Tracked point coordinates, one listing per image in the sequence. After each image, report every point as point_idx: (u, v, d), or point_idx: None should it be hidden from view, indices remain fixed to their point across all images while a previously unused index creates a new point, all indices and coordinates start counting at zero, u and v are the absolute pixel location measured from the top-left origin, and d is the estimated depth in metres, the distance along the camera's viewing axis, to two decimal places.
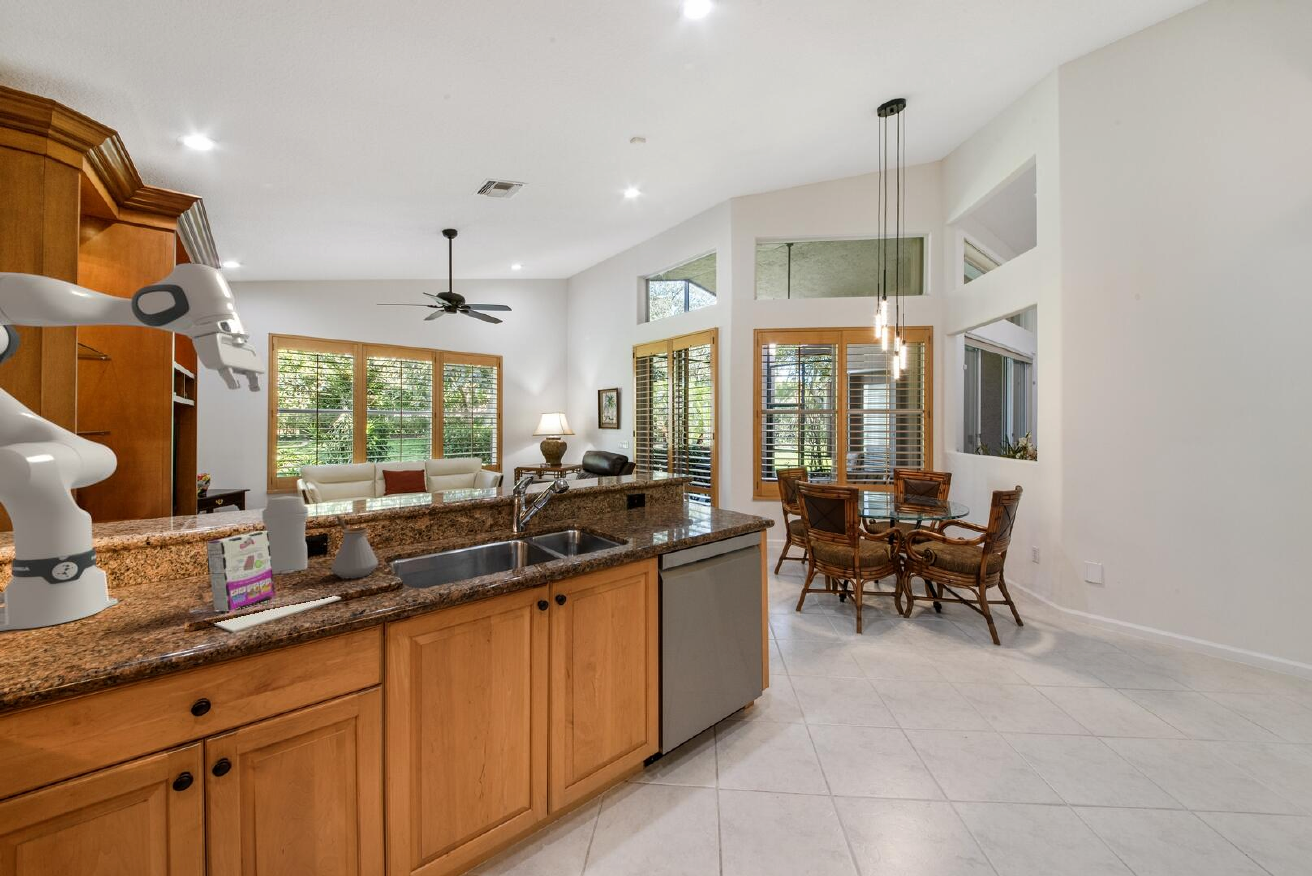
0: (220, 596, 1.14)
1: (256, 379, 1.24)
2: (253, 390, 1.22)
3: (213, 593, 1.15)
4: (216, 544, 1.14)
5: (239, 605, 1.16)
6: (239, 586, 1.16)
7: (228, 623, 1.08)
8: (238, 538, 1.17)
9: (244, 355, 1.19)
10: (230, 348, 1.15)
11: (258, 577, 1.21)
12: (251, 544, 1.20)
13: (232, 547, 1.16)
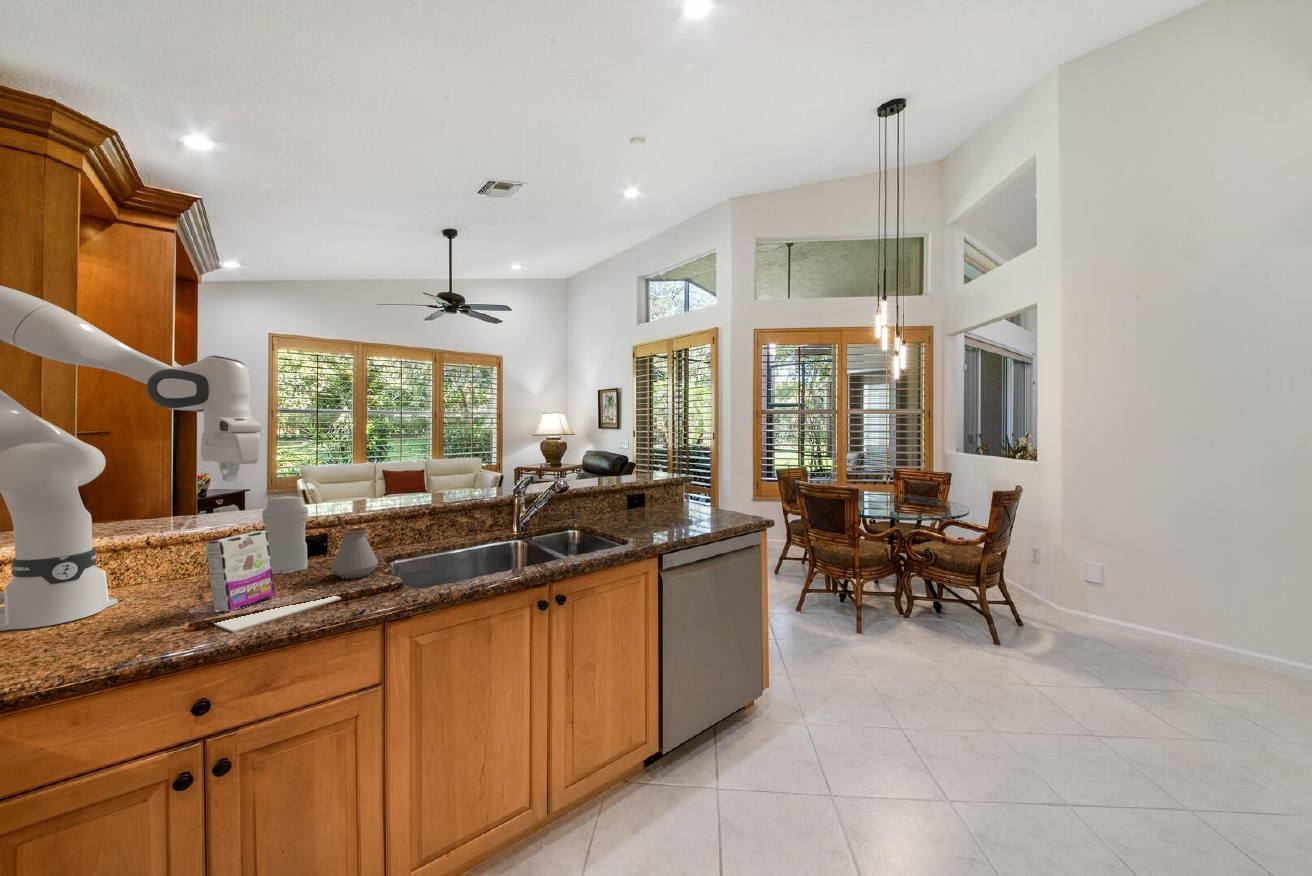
0: (219, 596, 1.14)
1: None
2: None
3: (212, 593, 1.15)
4: (215, 544, 1.14)
5: (239, 605, 1.16)
6: (239, 586, 1.16)
7: (228, 623, 1.08)
8: (237, 538, 1.17)
9: None
10: None
11: (257, 577, 1.21)
12: (250, 544, 1.20)
13: (231, 547, 1.16)
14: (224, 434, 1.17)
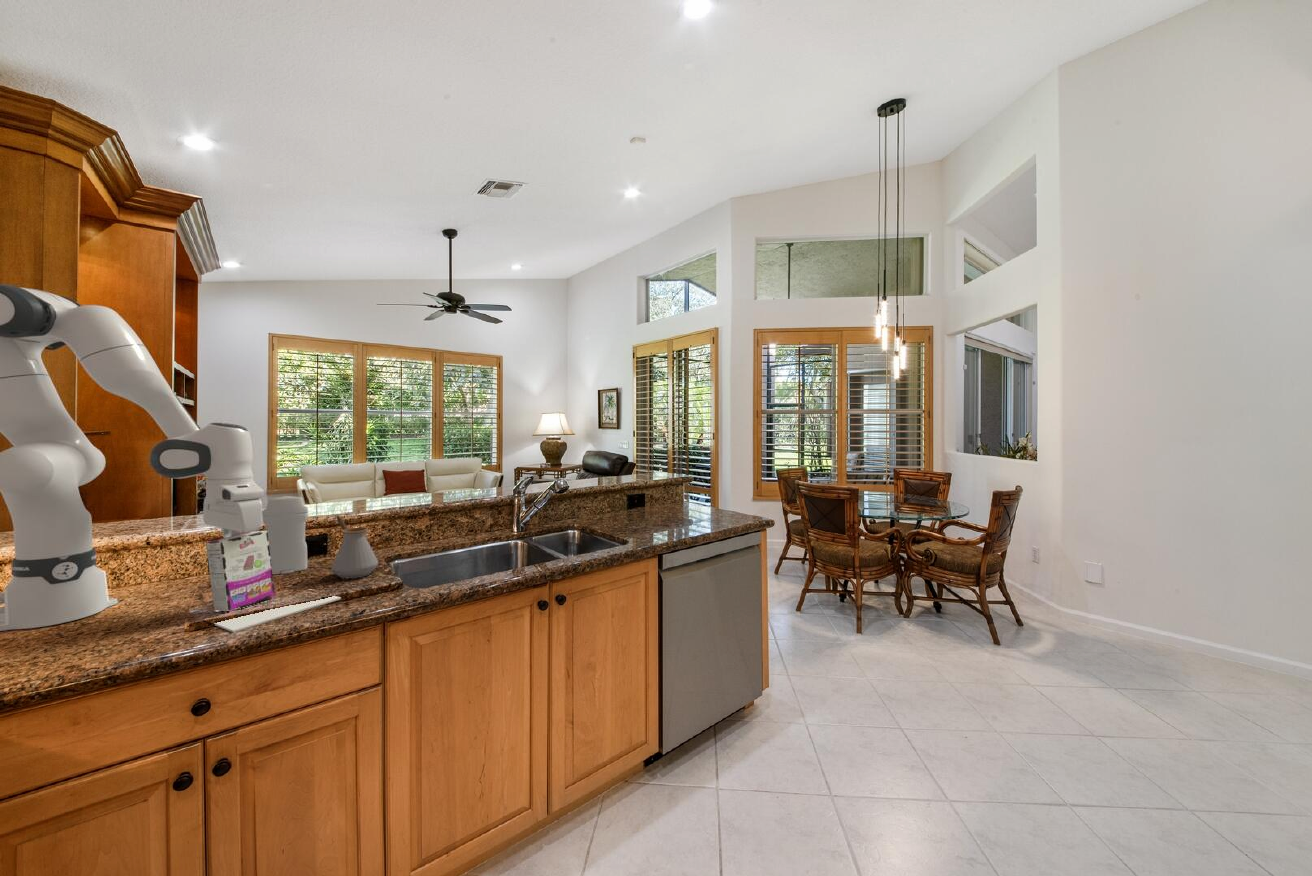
0: (220, 596, 1.14)
1: None
2: None
3: (213, 593, 1.15)
4: (216, 544, 1.14)
5: (239, 605, 1.16)
6: (239, 586, 1.16)
7: (228, 623, 1.08)
8: (238, 538, 1.17)
9: None
10: None
11: (257, 577, 1.21)
12: (251, 544, 1.20)
13: (232, 547, 1.16)
14: (227, 502, 1.18)
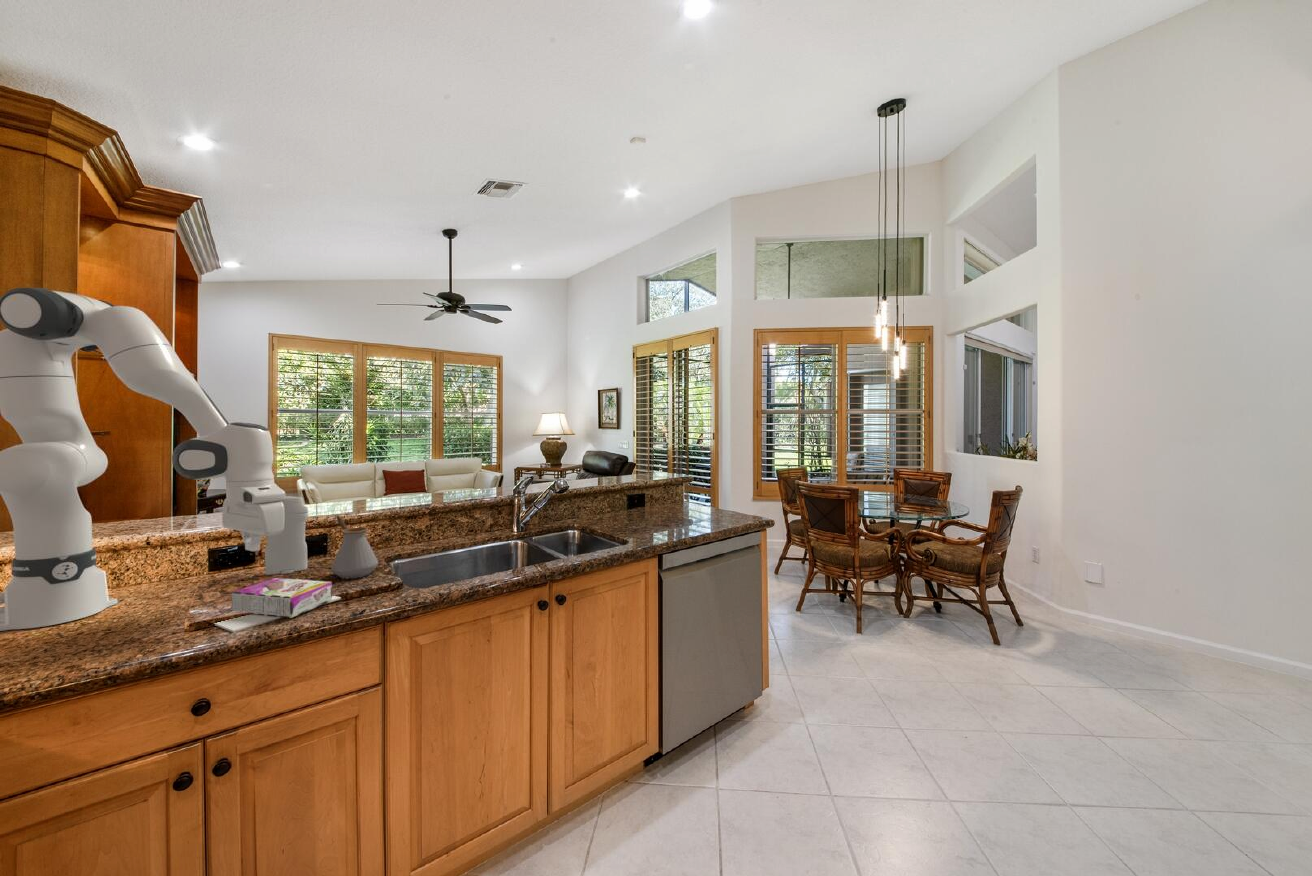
0: (244, 604, 1.13)
1: None
2: None
3: (246, 595, 1.13)
4: (288, 611, 1.11)
5: None
6: None
7: (228, 623, 1.08)
8: (305, 611, 1.14)
9: None
10: None
11: None
12: None
13: None
14: (248, 505, 1.13)
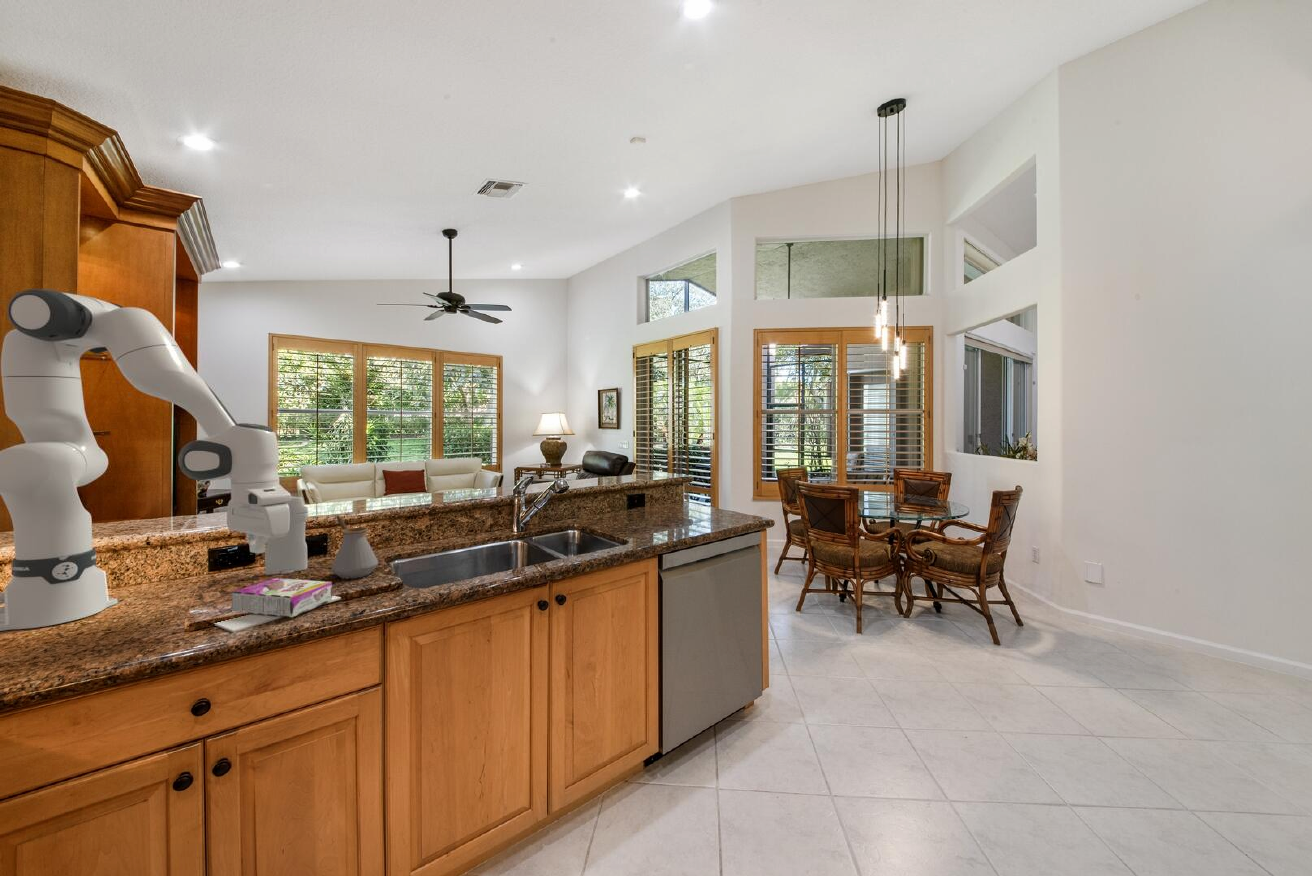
0: (244, 603, 1.13)
1: None
2: None
3: (246, 595, 1.13)
4: (288, 610, 1.11)
5: None
6: None
7: (228, 623, 1.08)
8: (305, 611, 1.14)
9: None
10: None
11: None
12: None
13: None
14: (253, 507, 1.12)
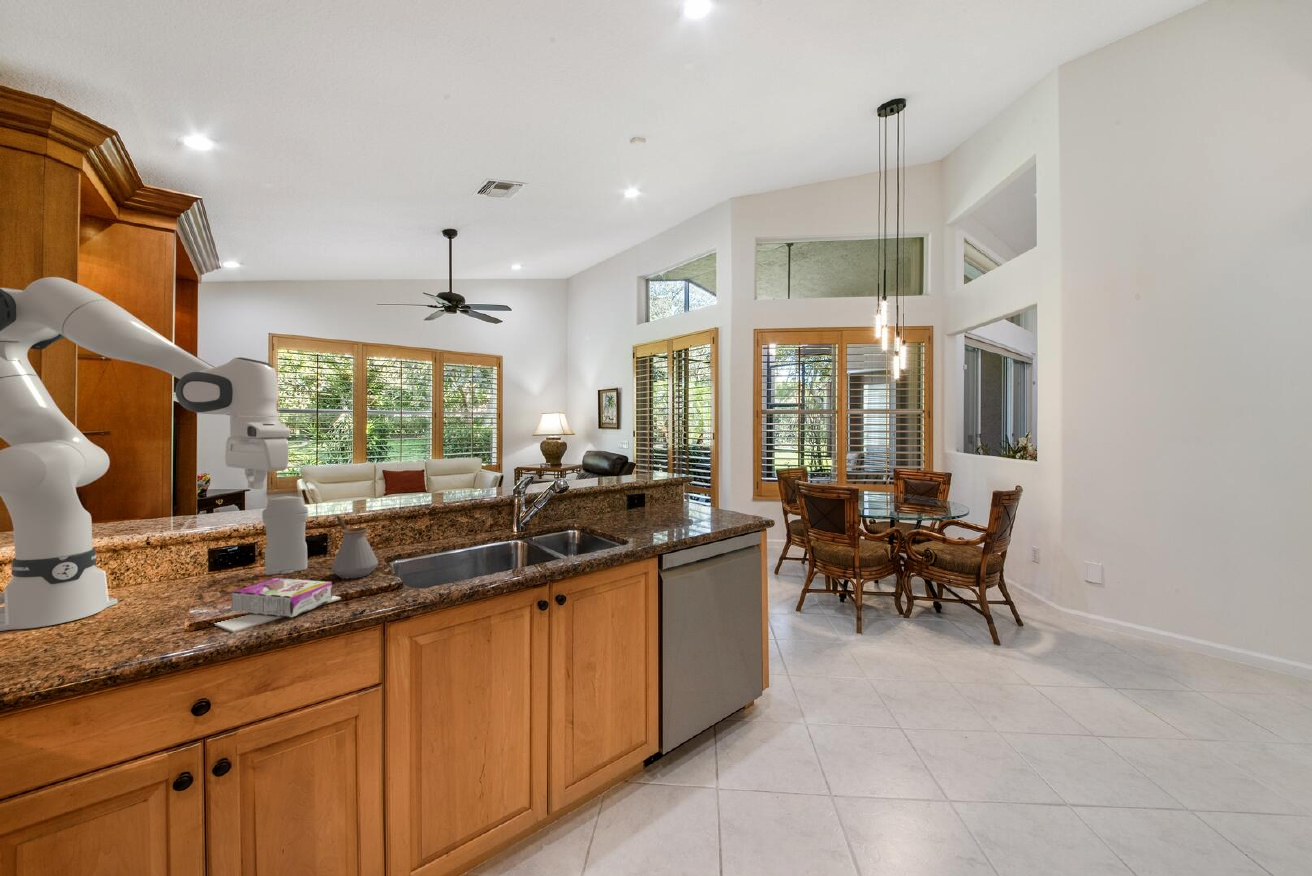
0: (244, 603, 1.13)
1: None
2: None
3: (246, 595, 1.13)
4: (288, 610, 1.11)
5: None
6: None
7: (228, 623, 1.08)
8: (305, 611, 1.14)
9: None
10: None
11: None
12: None
13: None
14: (252, 440, 1.12)
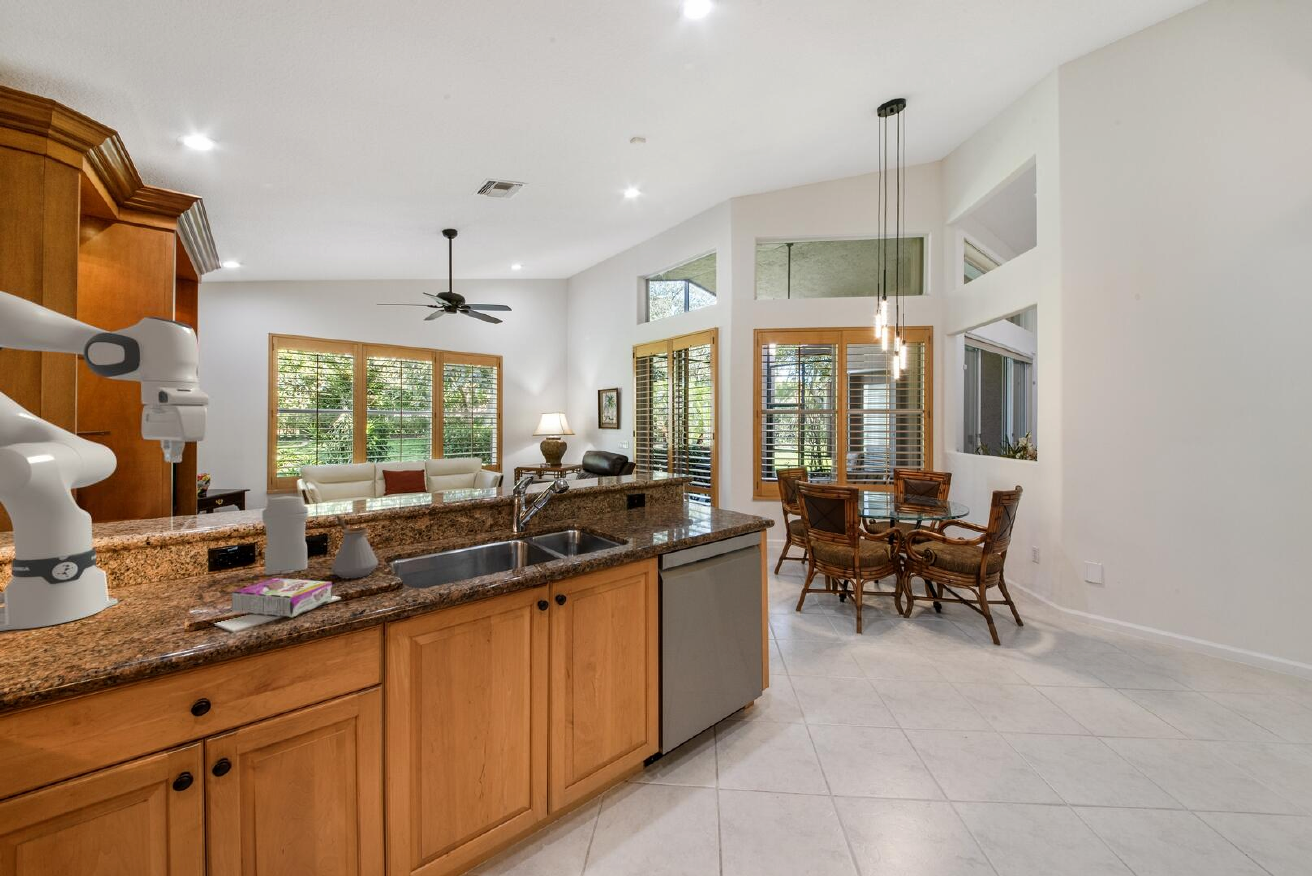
0: (244, 603, 1.13)
1: None
2: None
3: (246, 595, 1.13)
4: (288, 610, 1.11)
5: None
6: None
7: (228, 623, 1.08)
8: (305, 611, 1.14)
9: None
10: None
11: None
12: None
13: None
14: (164, 407, 1.01)
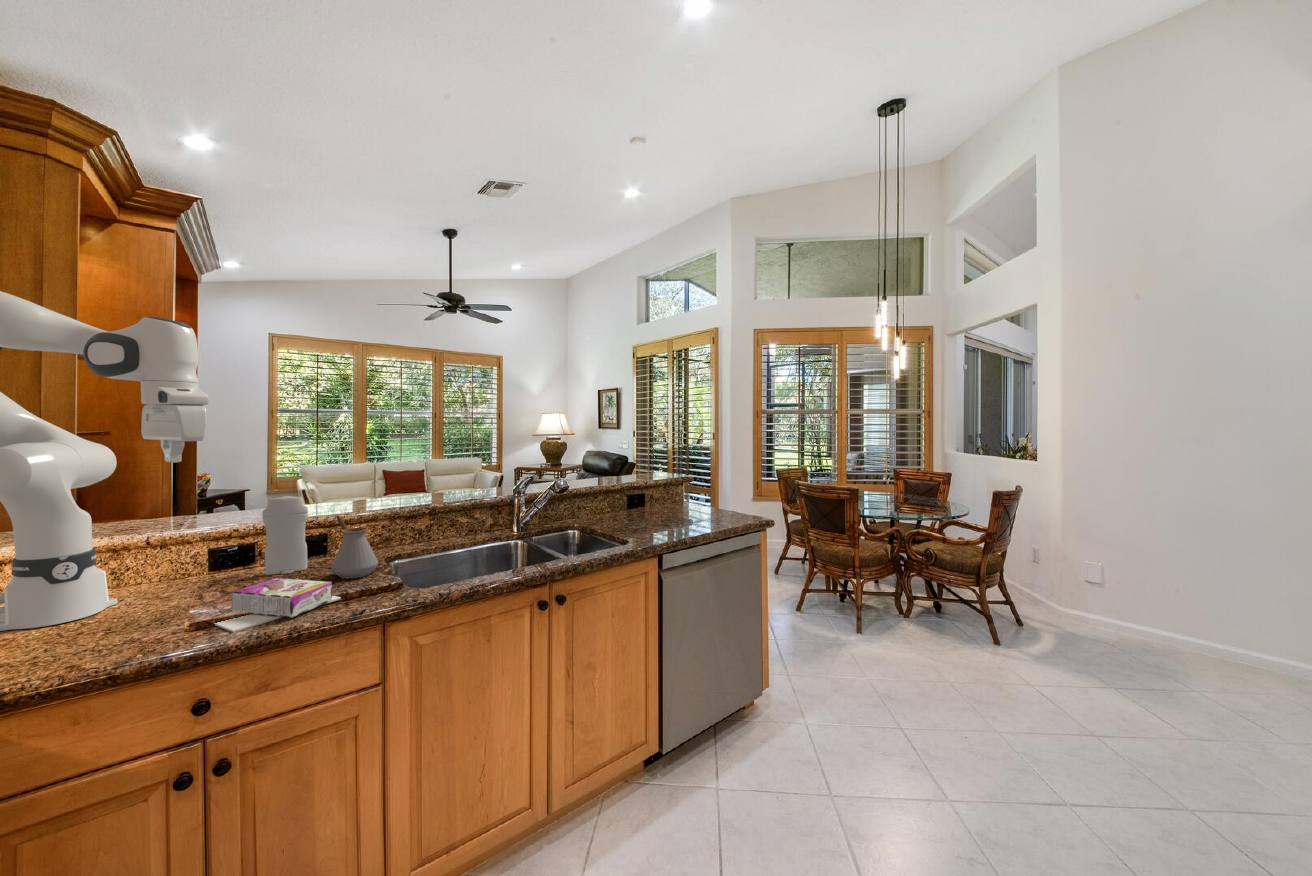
0: (244, 603, 1.13)
1: None
2: None
3: (246, 595, 1.13)
4: (288, 610, 1.11)
5: None
6: None
7: (228, 623, 1.08)
8: (305, 611, 1.14)
9: None
10: None
11: None
12: None
13: None
14: (164, 406, 1.01)
